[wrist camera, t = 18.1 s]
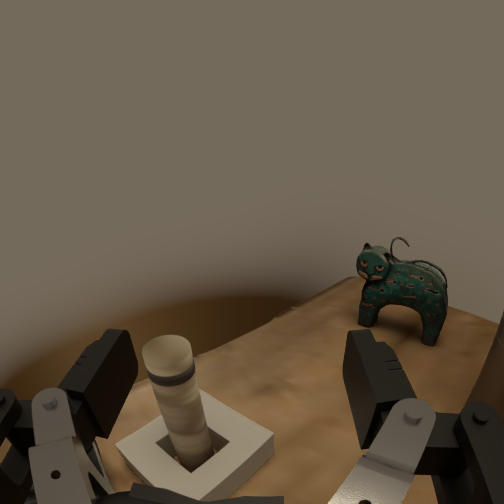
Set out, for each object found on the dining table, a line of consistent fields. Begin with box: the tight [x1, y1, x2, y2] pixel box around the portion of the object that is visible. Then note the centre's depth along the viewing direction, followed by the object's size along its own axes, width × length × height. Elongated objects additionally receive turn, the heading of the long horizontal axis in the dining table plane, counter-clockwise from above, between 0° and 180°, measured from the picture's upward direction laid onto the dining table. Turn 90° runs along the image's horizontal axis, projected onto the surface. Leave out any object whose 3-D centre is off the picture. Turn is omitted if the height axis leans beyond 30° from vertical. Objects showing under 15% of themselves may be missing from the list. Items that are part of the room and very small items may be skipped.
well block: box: [115, 389, 274, 502], centre depth 33 cm, size 15×13×5 cm
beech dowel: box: [142, 335, 214, 473], centre depth 30 cm, size 5×5×20 cm
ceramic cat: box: [356, 237, 448, 346], centre depth 56 cm, size 20×6×20 cm, turn 48°
